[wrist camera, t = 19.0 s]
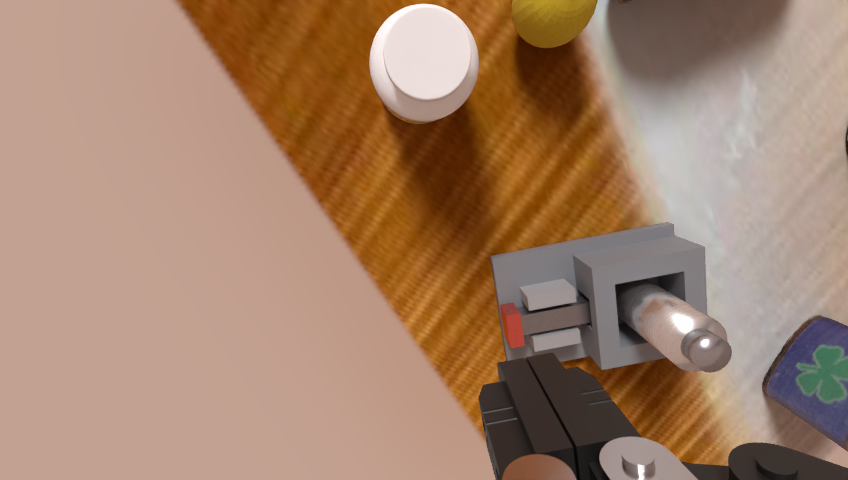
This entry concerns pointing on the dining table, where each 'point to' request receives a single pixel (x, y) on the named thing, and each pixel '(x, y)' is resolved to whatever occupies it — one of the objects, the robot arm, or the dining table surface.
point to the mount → (598, 289)
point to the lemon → (551, 20)
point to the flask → (814, 377)
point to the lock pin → (542, 319)
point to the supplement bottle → (423, 63)
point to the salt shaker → (673, 326)
